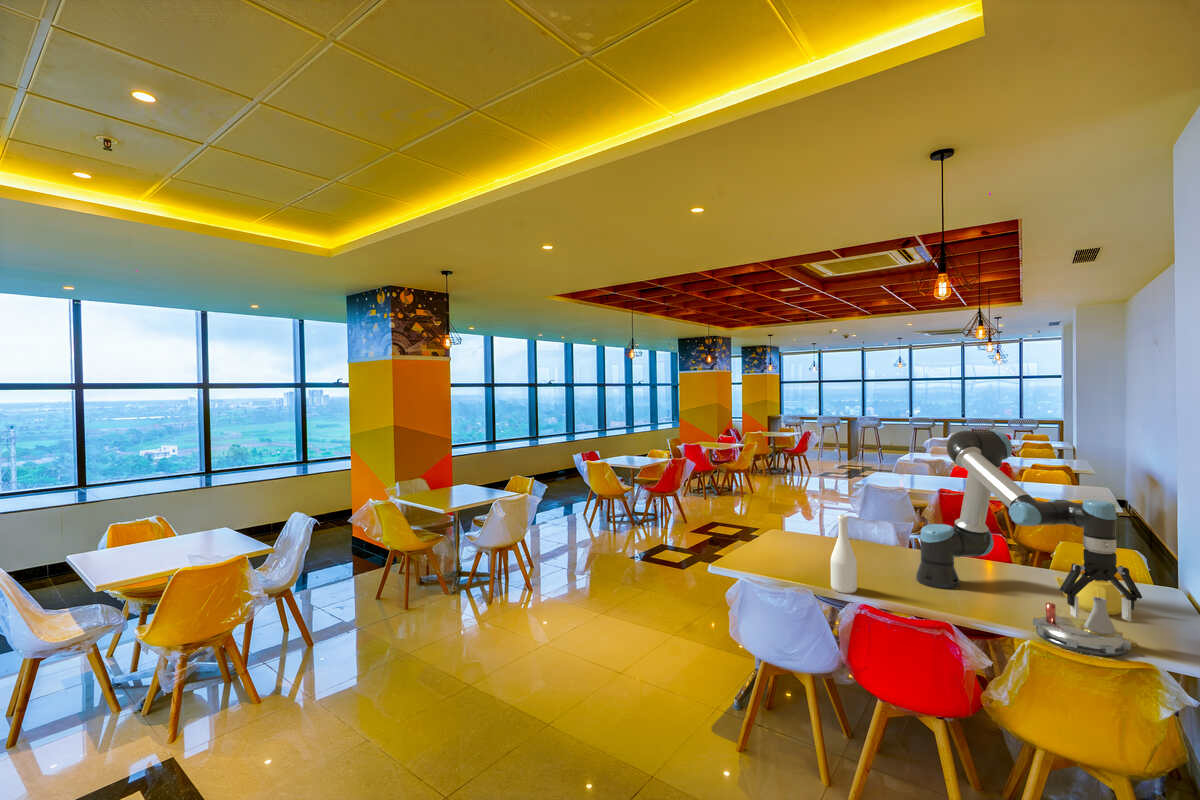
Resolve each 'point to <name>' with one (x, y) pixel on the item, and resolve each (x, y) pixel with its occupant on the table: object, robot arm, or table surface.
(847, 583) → the wine bottle
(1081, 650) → the base
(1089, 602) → the teapot
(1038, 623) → the turntable
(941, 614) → the table surface
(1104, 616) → the flask
